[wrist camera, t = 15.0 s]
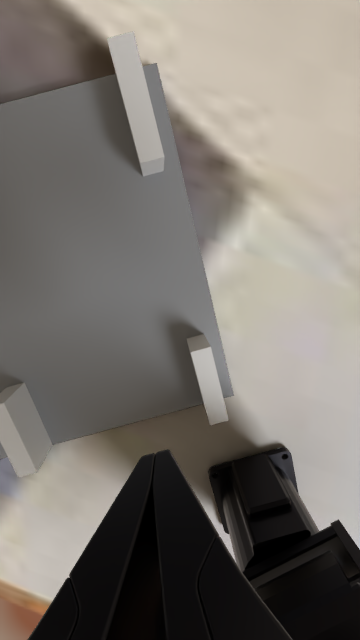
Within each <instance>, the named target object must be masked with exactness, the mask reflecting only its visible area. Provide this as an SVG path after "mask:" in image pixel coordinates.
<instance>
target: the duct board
mask: <svg viewBox="0 0 360 640" xmlns="http://www.w3.org/2000/svg"><path fill="white" fill-rule="evenodd" d="M107 41H108V45H109V49H110V53H111V57H112V61H113V65H114V69H115V73H116V74H112V75H109V76H105V77H101V78H97V79H93V80H90V81H86V82H82V83H78V84H75V85H71V86H67V87H63V88H59V89H56V90H52V91H48V92H44V93H40V94H37V95H33V96H29V97H25V98H22V99H18V100H14V101H10V102H6V103H3V104H0V459H2V458H6V457H8V458H9V460H10V462H11V464H12V466H13V468H14V470H15V472H16V474H17V476H18V478H19V477H23V476H27V475H30V474H34V473H37V472H38V471H39V469H40V467H41V465H42V463H43V461H44V460H45V458H46V456H47V454H48V452H49V450H50V449H51V447H52V445H54V444H57V443H61V442H65V441H68V440H72V439H76V438H79V437H83V436H87V435H90V434H94V433H98V432H102V431H105V430H109V429H113V428H116V427H120V426H124V425H127V424H131V423H135V422H138V421H142V420H146V419H149V418H153V417H157V416H160V415H164V414H168V413H171V412H175V411H179V410H182V409H186V408H190V407H193V406H197V405H201V404H204V406H205V410H206V413H207V417H208V420H209V424H210V425H214V424H217V423H221V422H225V421H228V420H229V419H228V415H227V411H226V407H225V403H224V399H223V398H227V397H230V396H234V394H233V390H232V385H231V381H230V377H229V372H228V368H227V364H226V359H225V355H224V351H223V346H222V342H221V338H220V334H219V329H218V325H217V321H216V316H215V312H214V308H213V303H212V299H211V295H210V290H209V286H208V282H207V278H206V273H205V269H204V265H203V260H202V256H201V252H200V247H199V243H198V239H197V235H196V230H195V226H194V222H193V217H192V213H191V209H190V204H189V200H188V196H187V191H186V187H185V183H184V179H183V174H182V170H181V166H180V161H179V157H178V153H177V148H176V144H175V140H174V135H173V131H172V127H171V123H170V118H169V114H168V110H167V105H166V101H165V97H164V92H163V88H162V84H161V79H160V75H159V71H158V67H157V63H154V64H150V65H146V66H143V67H142V63H141V59H140V55H139V51H138V47H137V42H136V38H135V34H134V31H132V32H128V33H125V34H121V35H117V36H113V37H109V38H107Z"/></svg>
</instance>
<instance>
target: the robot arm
mask: <svg viewBox="0 0 360 640" xmlns="http://www.w3.org/2000/svg"><path fill="white" fill-rule="evenodd" d="M283 454H285V455H284V456H282V455H283ZM214 473H217V474H214ZM208 474H209V479H210V482H211V486H212V489H213V493H214V496H215V500H216V503H217V507H218V510H219V514H220V517H221V521H222V524H223V528H224V531H225V532H226V533H227V534H230V539H231V543H232V547H233V551H234V555H235V559H236V562H235V560H234V559H233V557H232V556H231V554H230V553H229V551H228V549H227V548H226V546H225V544H224V542H223V541H222V539H221V537H219V534H218V532H217V531H216V529H215V527H214V526H213V524H212V522H211V520H210V519H209V517H208V515H207V513H206V512H205V510H204V508H203V507H202V505H201V503H200V501H199V500H198V498H197V496H196V495H195V493H194V491H193V489H192V488H191V486H190V484H189V483H188V481H187V479H186V477H185V476H184V474H183V472H182V470H181V469H180V467H179V465H178V464H177V462H176V460H175V458H174V457H173V455H172V453H171V452H170V450H168V449H167V450H163V451H160V452H157V453H156V454H154V453H152V454H149V455H145V456H142V457H141V458H140V460H139V462H138V463H137V465H136V467H135V468H134V470H133V471H132V473H131V475H130V476H129V478H128V480H127V481H126V483H125V484H124V486H123V488H122V489H121V491H120V493H119V494H118V496H117V497H116V499H115V501H114V502H113V504H112V506H111V507H110V509H109V511H108V512H107V514H106V515H105V517H104V519H103V520H102V522H101V524H100V525H99V527H98V528H97V530H96V532H95V533H94V535H93V537H92V538H91V540H90V542H89V543H88V545H87V546H86V548H85V550H84V551H83V553H82V555H81V556H80V558H79V559H78V561H77V563H76V564H75V566H74V568H73V569H72V571H71V573H70V575H69V576H70V578H67V579H66V580H65V582H64V584H63V585H62V587H61V589H60V590H59V592H58V593H57V595H56V597H55V598H54V600H53V601H52V603H51V605H50V606H49V608H48V609H47V611H46V612H45V614H44V616H43V617H42V619H41V620H40V622H39V623H38V625H37V627H36V628H35V630H34V631H33V632H32V634H31V635H30V637H29V638H28V640H360V550H359V548H358V547H357V545H356V544H355V542H354V541H353V540H352V538H351V537H350V535H349V534H348V532H347V531H346V529H345V528H344V527H343V525H342V524H341V522H340V521H339V520H337V521H335V522H333V523H331V526H329V527H327V528H325V529H323V530H321V531H319V530H318V528H317V526H316V524H315V523H314V521H313V519H312V517H311V516H310V514H309V512H308V510H307V509H306V507H305V505H304V503H303V501H302V500H301V498H300V496H299V494H298V489H297V483H296V478H295V472H294V467H293V461H292V456H291V453H290V452H289V450H288V449H287V448H279V449H275V450H272V451H268V452H264V453H261V454H257V455H253V456H250V457H246V458H242V459H239V460H235V461H232V462H228V463H224V464H221V465H217V466H213V467H211V468H210V469H209V471H208ZM236 563H237V564H236Z"/></svg>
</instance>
